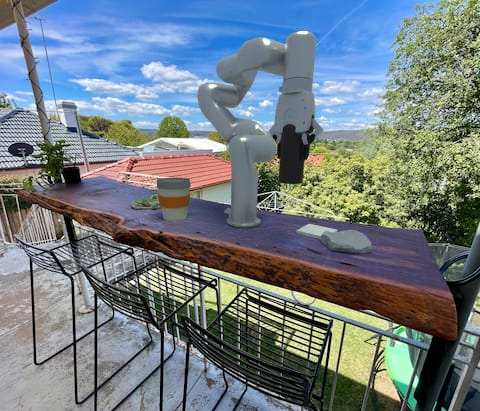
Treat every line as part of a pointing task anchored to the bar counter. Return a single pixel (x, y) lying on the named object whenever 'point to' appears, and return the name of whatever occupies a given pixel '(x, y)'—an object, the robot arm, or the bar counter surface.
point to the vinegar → (291, 156)
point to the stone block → (346, 241)
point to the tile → (314, 230)
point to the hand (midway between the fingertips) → (292, 158)
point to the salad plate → (147, 203)
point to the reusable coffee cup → (174, 197)
